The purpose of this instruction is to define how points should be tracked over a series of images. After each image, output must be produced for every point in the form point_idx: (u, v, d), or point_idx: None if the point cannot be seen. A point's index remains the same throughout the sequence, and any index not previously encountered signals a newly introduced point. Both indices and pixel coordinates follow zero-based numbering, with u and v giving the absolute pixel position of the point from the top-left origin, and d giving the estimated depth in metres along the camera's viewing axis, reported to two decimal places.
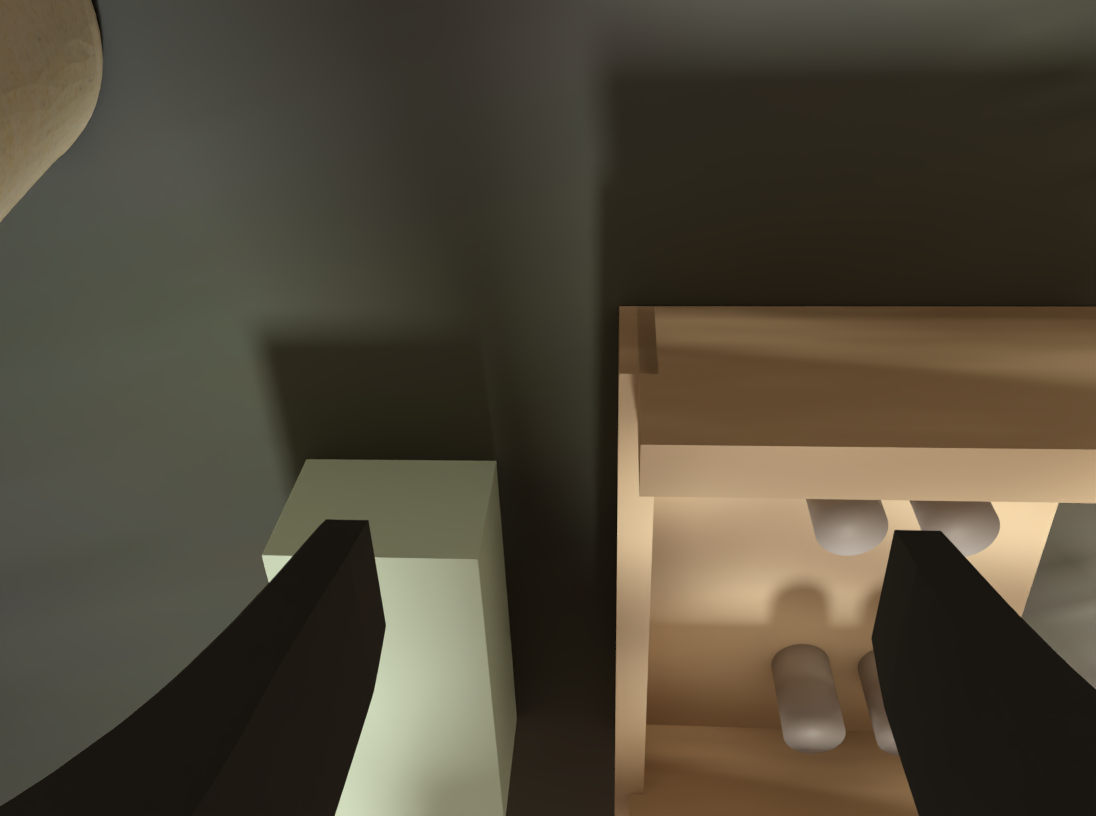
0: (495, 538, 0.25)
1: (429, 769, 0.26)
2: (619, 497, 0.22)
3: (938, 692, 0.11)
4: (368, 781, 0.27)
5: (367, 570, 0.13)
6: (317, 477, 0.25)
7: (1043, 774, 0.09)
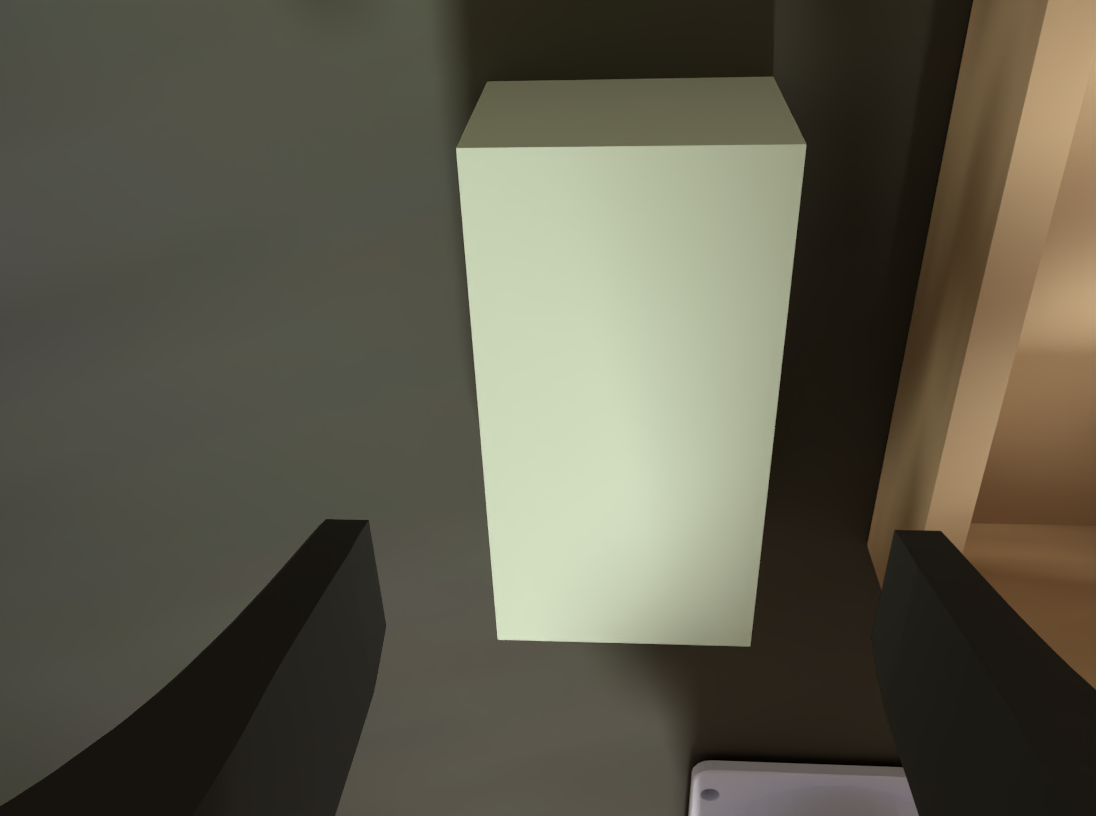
0: None
1: (657, 549, 0.18)
2: (1043, 35, 0.13)
3: (938, 692, 0.11)
4: (563, 572, 0.18)
5: (367, 570, 0.13)
6: (509, 92, 0.17)
7: (1043, 774, 0.09)
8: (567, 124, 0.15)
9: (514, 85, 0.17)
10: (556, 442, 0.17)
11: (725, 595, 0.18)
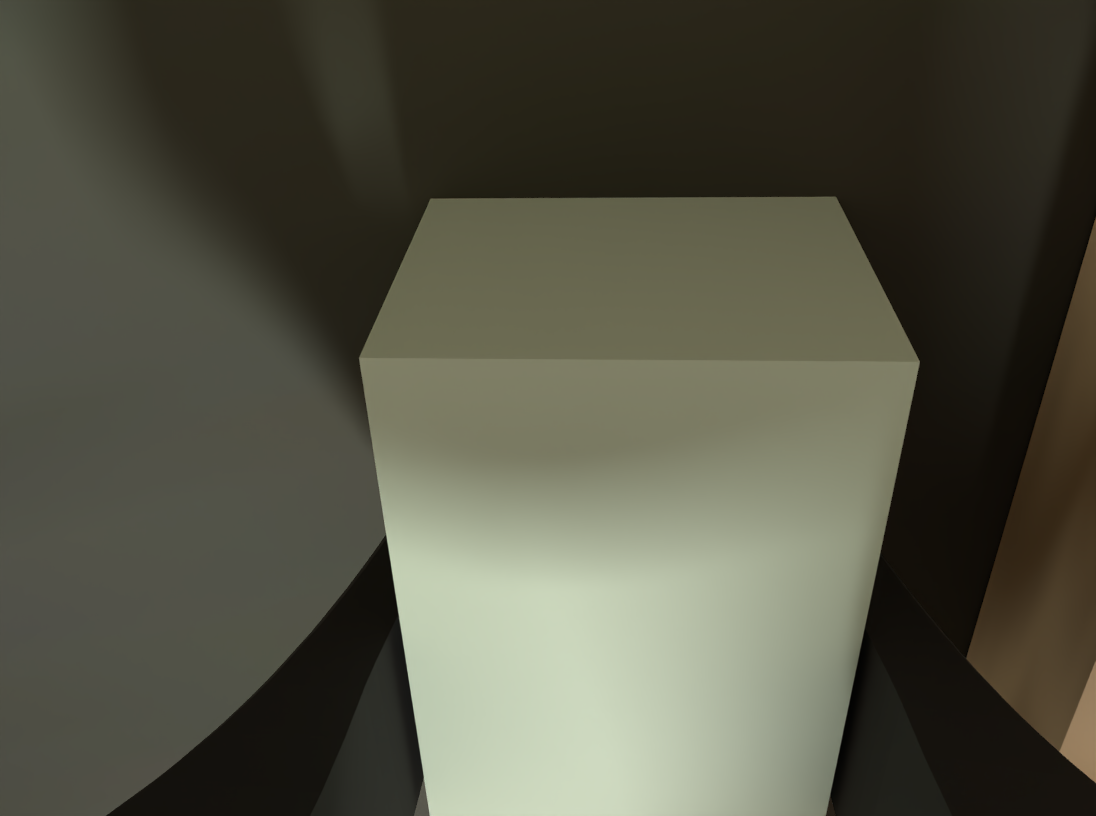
0: None
1: None
2: None
3: None
4: None
5: None
6: (457, 230, 0.11)
7: (927, 770, 0.09)
8: (537, 302, 0.10)
9: (465, 215, 0.12)
10: (524, 734, 0.12)
11: None
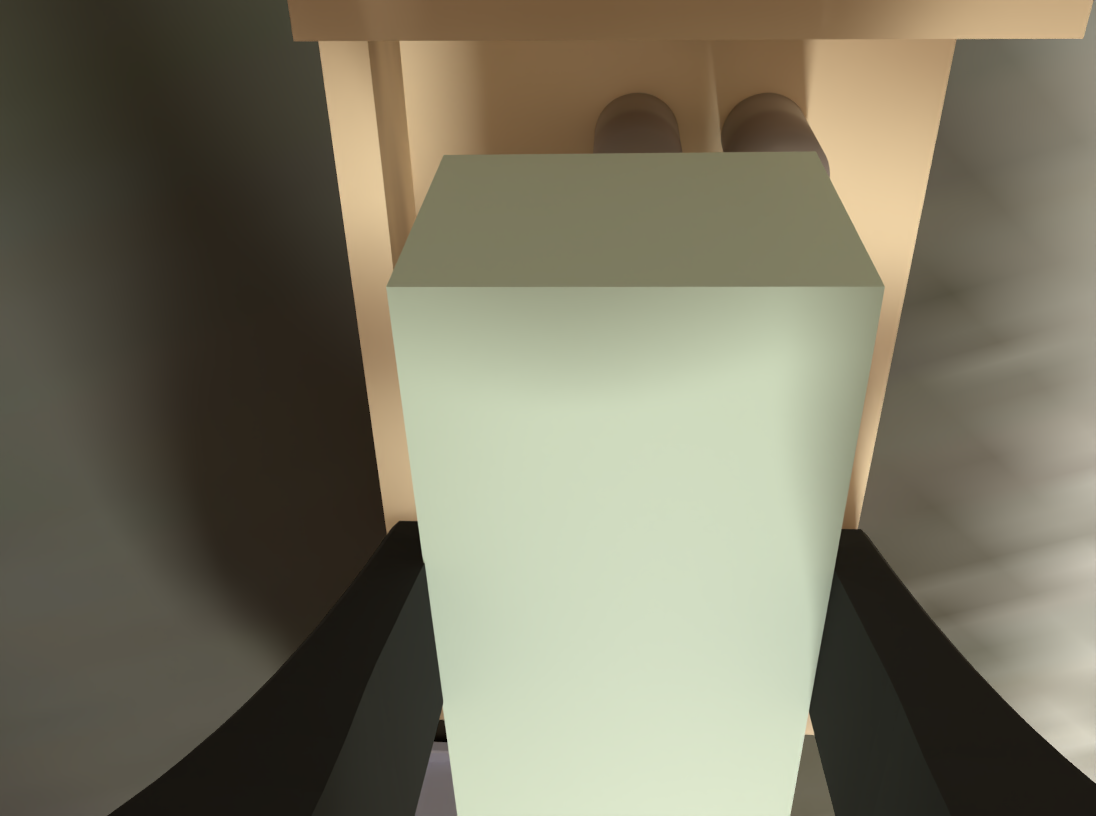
0: None
1: (664, 761, 0.14)
2: (333, 131, 0.16)
3: (848, 689, 0.11)
4: (543, 785, 0.14)
5: None
6: (469, 181, 0.12)
7: (926, 770, 0.09)
8: (545, 241, 0.11)
9: (476, 169, 0.13)
10: (532, 642, 0.13)
11: (751, 812, 0.14)
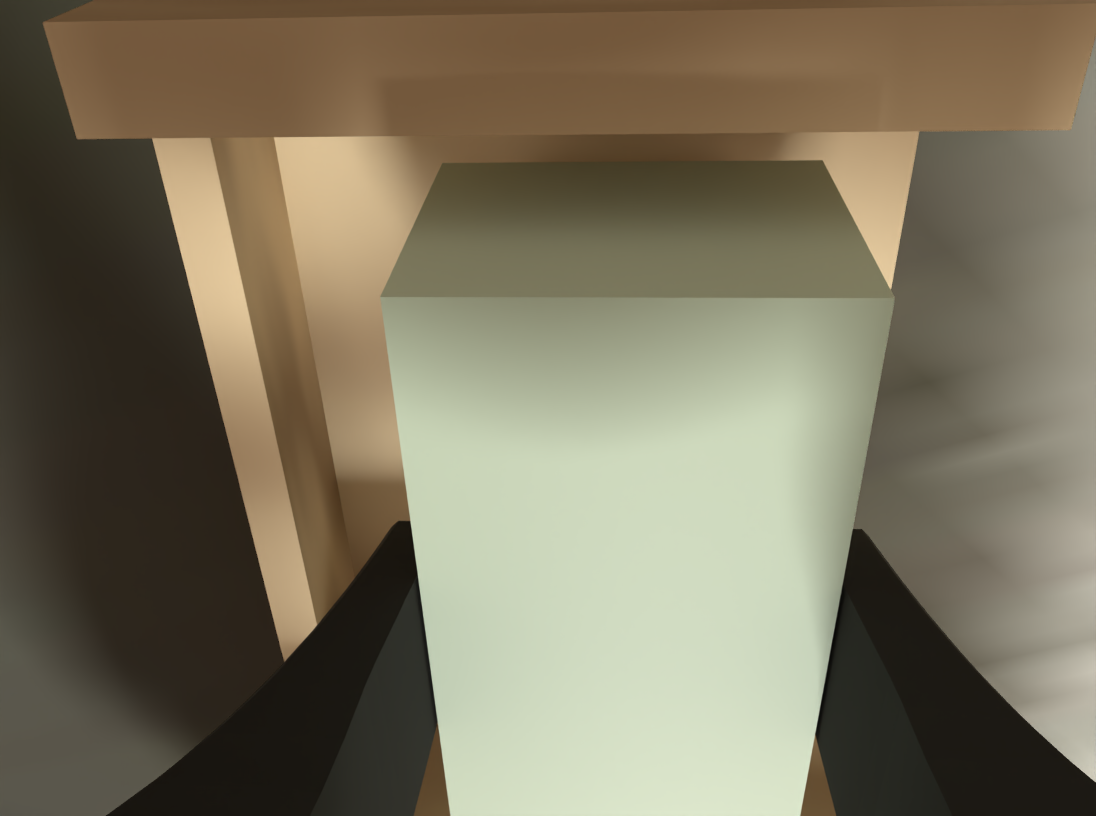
0: None
1: (666, 786, 0.14)
2: (176, 224, 0.14)
3: (849, 690, 0.11)
4: (542, 809, 0.14)
5: None
6: (468, 190, 0.12)
7: (928, 770, 0.09)
8: (544, 251, 0.10)
9: (475, 177, 0.13)
10: (530, 662, 0.12)
11: None
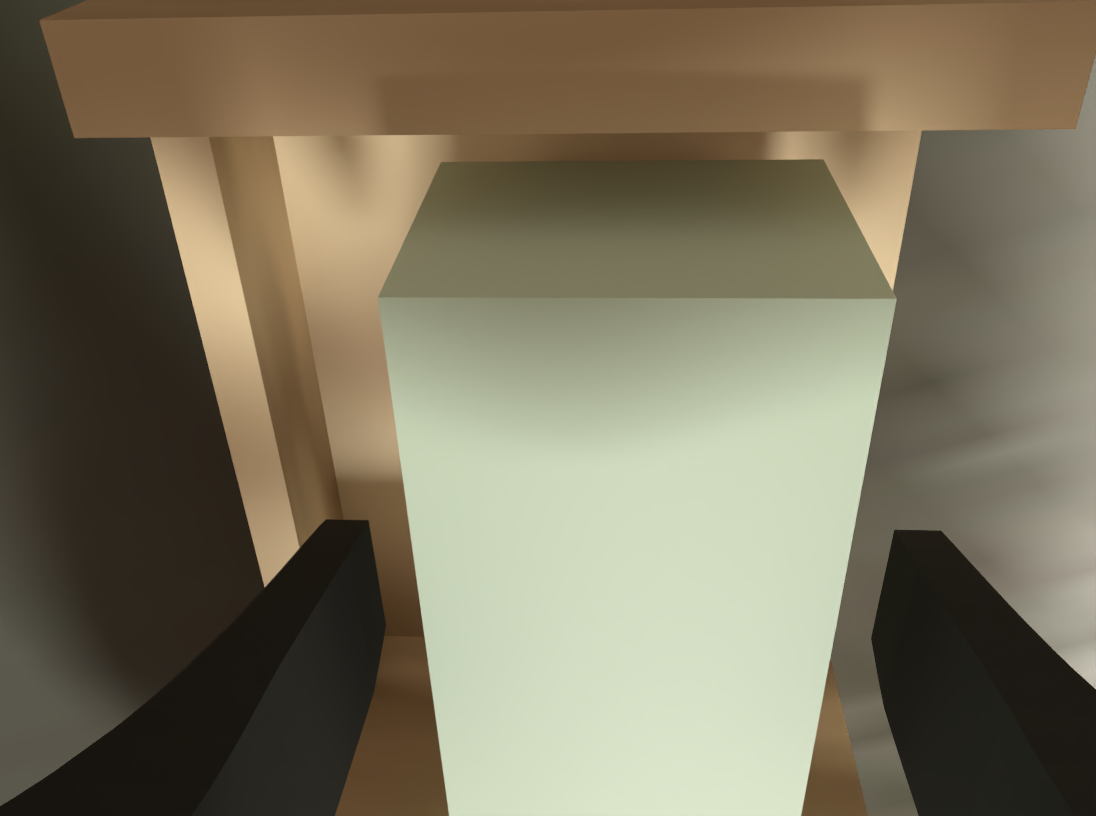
0: None
1: (667, 788, 0.13)
2: (174, 224, 0.14)
3: (938, 692, 0.11)
4: (541, 810, 0.14)
5: (367, 570, 0.13)
6: (467, 189, 0.12)
7: (1043, 774, 0.09)
8: (543, 251, 0.10)
9: (474, 176, 0.12)
10: (529, 664, 0.12)
11: None
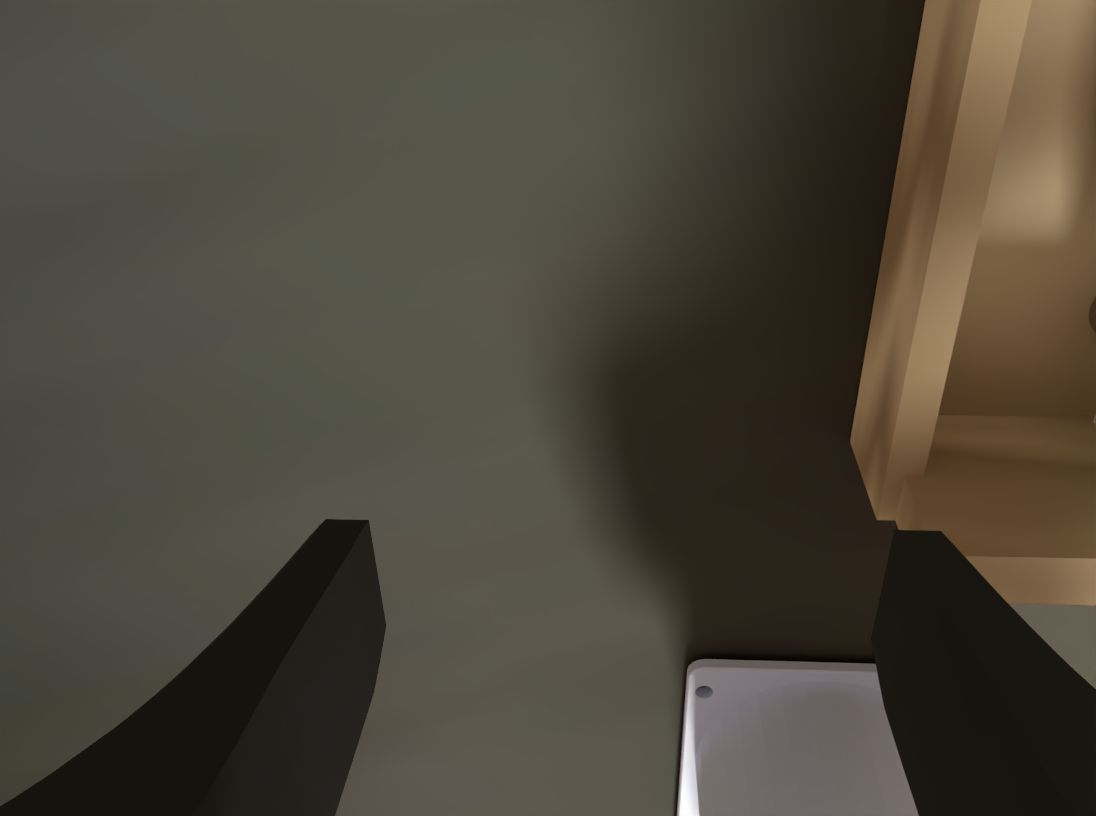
0: None
1: None
2: None
3: (938, 692, 0.11)
4: None
5: (367, 570, 0.13)
6: None
7: (1043, 774, 0.09)
8: None
9: None
10: None
11: None
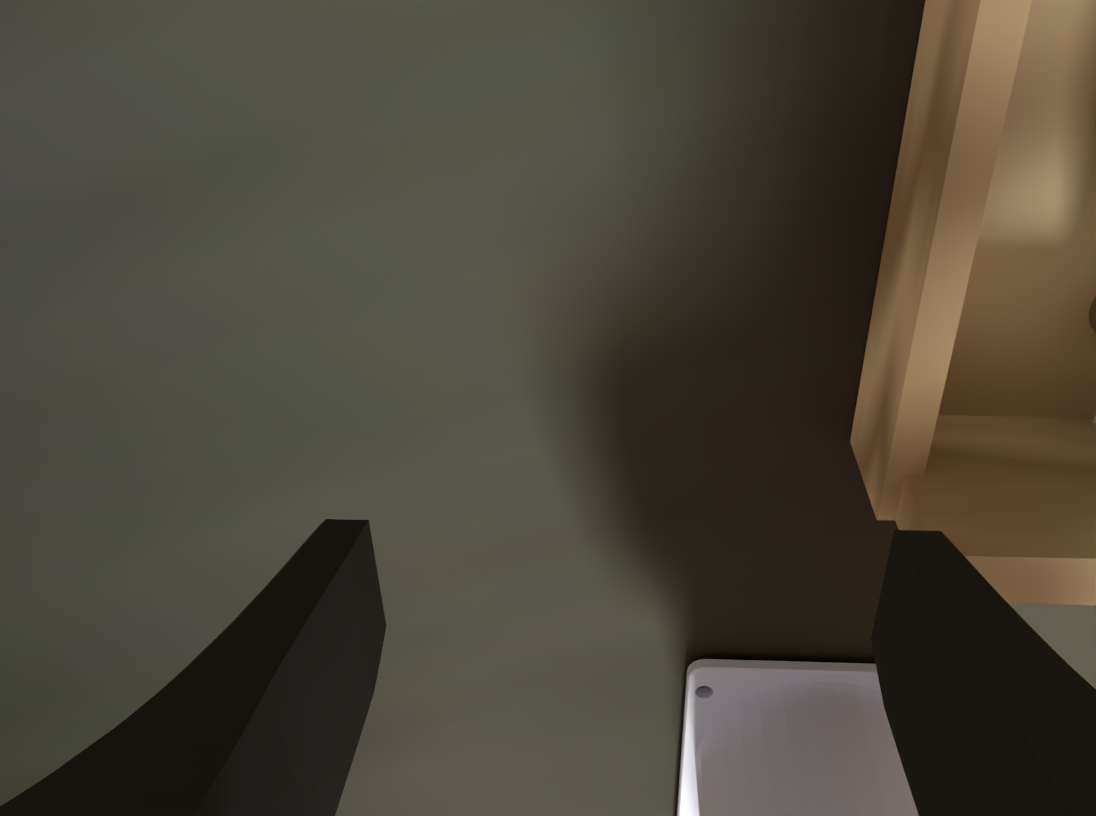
0: None
1: None
2: None
3: (938, 692, 0.11)
4: None
5: (367, 570, 0.13)
6: None
7: (1043, 774, 0.09)
8: None
9: None
10: None
11: None
